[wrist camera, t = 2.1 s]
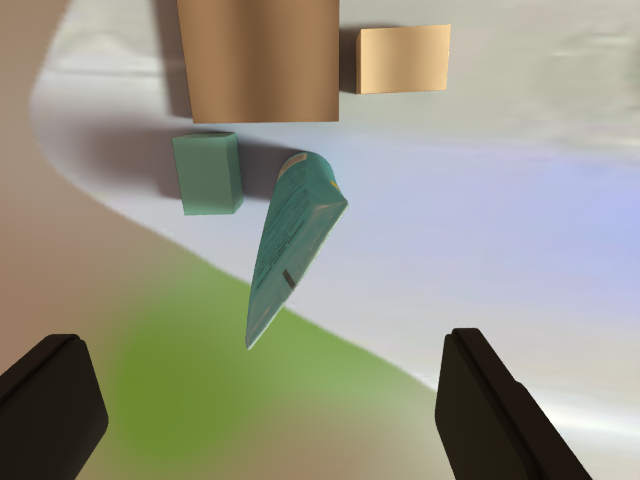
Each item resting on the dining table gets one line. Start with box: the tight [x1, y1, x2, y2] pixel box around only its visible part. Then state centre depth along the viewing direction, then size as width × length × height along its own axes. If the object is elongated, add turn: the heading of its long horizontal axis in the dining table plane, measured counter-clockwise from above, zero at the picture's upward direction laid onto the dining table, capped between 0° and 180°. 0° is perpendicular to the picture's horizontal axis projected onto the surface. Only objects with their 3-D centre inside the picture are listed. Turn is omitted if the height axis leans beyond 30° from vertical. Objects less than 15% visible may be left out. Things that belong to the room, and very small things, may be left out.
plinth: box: [176, 0, 339, 123], centre depth 26 cm, size 11×11×3 cm
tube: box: [245, 152, 349, 350], centre depth 22 cm, size 7×5×19 cm, turn 152°
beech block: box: [356, 25, 451, 94], centre depth 26 cm, size 6×4×4 cm, turn 93°
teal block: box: [171, 133, 244, 215], centre depth 29 cm, size 6×4×4 cm, turn 1°
